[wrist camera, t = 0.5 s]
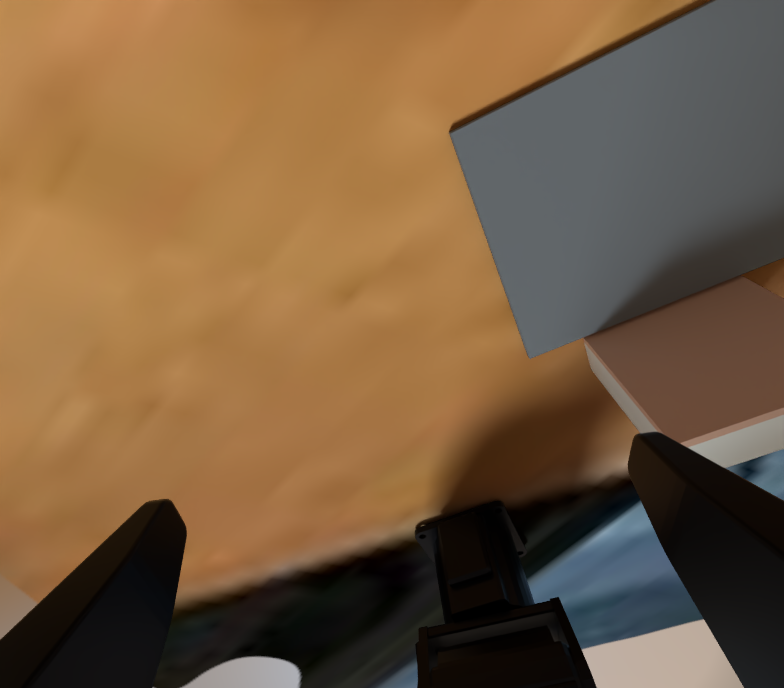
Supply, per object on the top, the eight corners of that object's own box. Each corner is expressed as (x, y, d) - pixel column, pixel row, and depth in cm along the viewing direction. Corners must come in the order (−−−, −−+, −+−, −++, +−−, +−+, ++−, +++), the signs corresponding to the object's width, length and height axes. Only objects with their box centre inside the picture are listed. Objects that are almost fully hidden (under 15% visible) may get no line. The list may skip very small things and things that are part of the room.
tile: (739, 312, 24) (894, 412, 17) (591, 369, 25) (679, 483, 18) (738, 274, 22) (905, 365, 16) (582, 336, 24) (673, 445, 17)
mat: (804, 244, 22) (810, 246, 21) (527, 354, 24) (529, 358, 24) (822, -56, 16) (832, -59, 15) (448, 132, 18) (450, 133, 18)
